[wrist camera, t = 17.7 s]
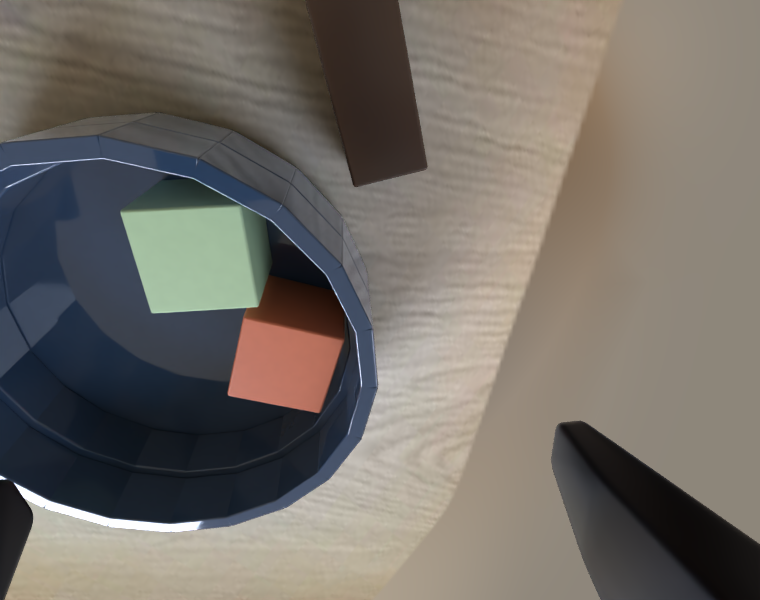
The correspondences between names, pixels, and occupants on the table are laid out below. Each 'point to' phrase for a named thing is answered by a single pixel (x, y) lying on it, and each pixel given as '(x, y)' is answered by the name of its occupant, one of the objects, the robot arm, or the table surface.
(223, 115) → the table surface
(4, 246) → the bowl
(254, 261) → the sage block
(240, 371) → the terracotta block
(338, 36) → the dark brown block
